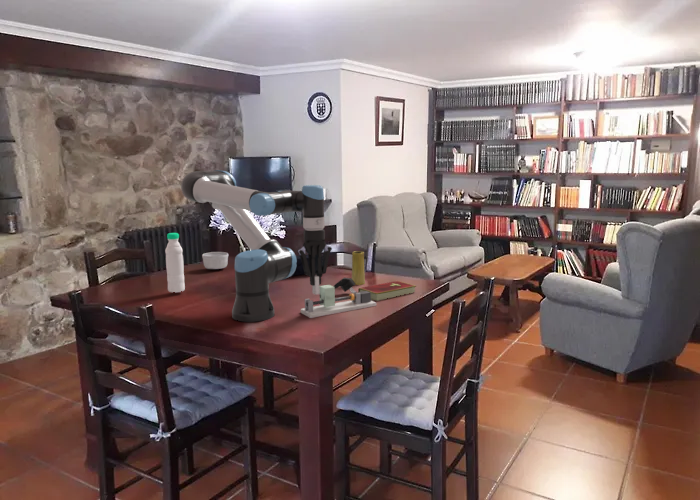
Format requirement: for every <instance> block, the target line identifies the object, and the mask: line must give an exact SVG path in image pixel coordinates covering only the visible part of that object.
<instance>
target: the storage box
mask: <svg viewBox="0 0 700 500" xmlns="http://www.w3.org/2000/svg"><path fill="white" fill-rule="evenodd" d="M305 255H306V258H307V262H308V266H309V257H308V254H305ZM295 256H296V259H297V262H296V265H297V266H296V270H295V272H294V273H293V274H292V275H291V276H290V277H292V276H302V275H303V276H304V275H305V273H304V269H303V265H302V261H301V258H300V255H295ZM322 258H323V256H322V257H321V263H322ZM315 274H316V268H315Z"/></svg>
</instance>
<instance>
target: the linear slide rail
mask: <svg viewBox="0 0 700 500" xmlns="http://www.w3.org/2000/svg"><path fill="white" fill-rule="evenodd" d="M323 303H324V300H321V301H320V300H316V301H314V300H311V299H310V298H304V307H303V308H300V313H301V314H302V315H304V316H305V317H308V318H309V319H313V318H318V317H323V316H328V315H329V316H330V315H335V314H339V313H344V312H350V311H355V310H360V309H366V308H371V307H377V301H376V302H375V301H374V300H372V299H371V292H368V291H362V292H357V291H356V290H355V292H352V293H349V295H347V296H341V297H335V306H330V307H324V305H320V304H323ZM315 305H316V306H315Z"/></svg>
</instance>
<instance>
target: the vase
mask: <svg viewBox="0 0 700 500" xmlns="http://www.w3.org/2000/svg"><path fill="white" fill-rule="evenodd" d="M351 261H352V263H351V278H352V280H353V281H354V282H355V285H354V286H362V285H365V284H366V280H365V279H366V278H365V277H366V275H365V252H364V251H362V250H361V251H360V250H359V251H358V250H355V251H352V253H351Z"/></svg>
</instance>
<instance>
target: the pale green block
mask: <svg viewBox="0 0 700 500" xmlns="http://www.w3.org/2000/svg"><path fill="white" fill-rule="evenodd" d="M333 286H334V285H331V284H326V285H325V284H324V285H319V301H321V300H324V303H323V304H319V306H321V305H324V307H330V306H335V303H336V301H335V298H336V297H335V296H336V291H335V290H336V289H335V287H333Z"/></svg>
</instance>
